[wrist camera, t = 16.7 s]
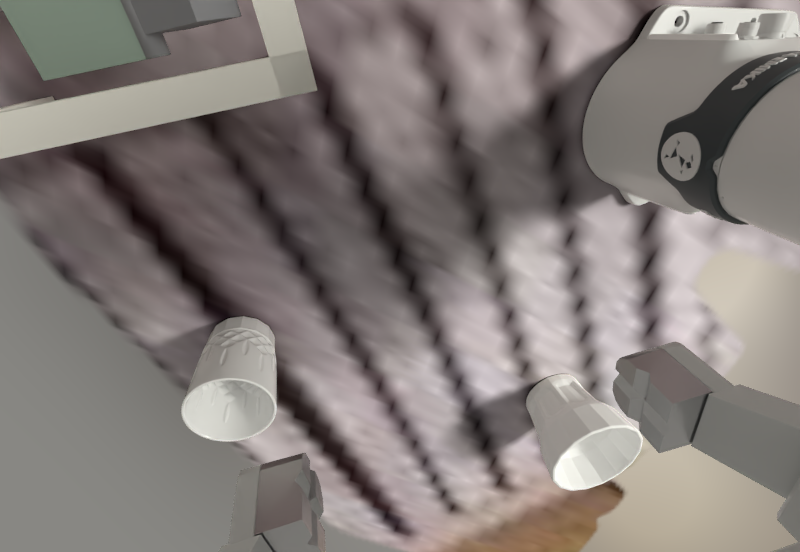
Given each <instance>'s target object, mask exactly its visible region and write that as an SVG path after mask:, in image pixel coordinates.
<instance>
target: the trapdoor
mask: <svg viewBox="0 0 800 552" xmlns="http://www.w3.org/2000/svg"><path fill="white" fill-rule="evenodd" d="M0 6H1V8H2V10H3V12H4V13H5V15H6V17H7V19H8V20H9V22H10V24H11V25H12V27H13V29H14V31H15V32H16V34H17V36H18V37H19V39H20V41H21V43H22V44H23V46H24V48H25V49H26V51H27V53H28V55H29V56H30V58H31V60H32V61H33V63H34V65H35V67H36V68H37V70H38V72H39V73H40V75H41V77H42V79H43V80H44V81H45V80H51V79H56V78H61V77H66V76H70V75H75V74H80V73H84V72H89V71H94V70H99V69H103V68H108V67H113V66H118V65H122V64H127V63H132V62H137V61H141V60H146V59H151V58H156V57H160V56H165V55H170V54H171V53H170V51H169V49H168V46H167V44H166V41H165V39H164V37H163V34H162V33H164V32H172V31H179V30H186V29H191V28H195V27H199V26H203V25H207V24H211V23H215V22H220V21H224V20H228V19H232V18H236V17H240V16H241V13H240V10H239V7H238V4H237V1H236V0H0Z"/></svg>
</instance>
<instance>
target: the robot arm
mask: <svg viewBox="0 0 800 552" xmlns="http://www.w3.org/2000/svg"><path fill="white" fill-rule="evenodd" d="M676 18H677V22H676V24H674V23H675V20H676ZM583 149H584V154H585V158H586V160H587V163H588V165H589V167H590V168H591V170H592V171H593V172H594V174H595V175H596V176H597V177H599V178H600V179H601V180H603V181H604V182H606V183H609V184H611V185H613V186H615V187H616V188H618V189H619V191H620V193H621V194H622V196H623V197H624V199H625V200H626V201H627V202H628V203H630V204H633V205H637V206H638V205H642V204H645V203H647V202H649V201H650V202H653V203H655V204H658V205H661V206H664V207H667V208H670V209H673V210H676V211H679V212H681V213H685V214H695V213H696V212H699V211H702V212H704V213H706V214H707V215H709V216H712V217H714V218H717V219H720V220H725V221H728V222H731V223H734V224H750V225H752V226H755V227H757V228H760V229H762V230H764V231H767V232H769V233H771V234H774V235H776V236H779V237H781V238H783V239H786V240H788V241H791V242H793V243H795V244H798V245H800V28H799V21H798V16H797V14H796V12H794V11H789V10H776V9H755V8H732V7H710V6H687V5H663V6H660V7H659V8H658V9H656V10H655V12H654V13H653V14H652V15H651V17H650V18H649V20H648V21H647V23H646V25H645V26H644V28H643V30H642V32H641V33H640V35H639V37H638V39H637V40H636V41H635V43H634V44H633V45H632V46H631V47H630V48H629V49H628V50H627V51H626V52H625V53H624V54H623V55H622V56H621V57H620V58H619V59H618V60H617V61H616V62H615V63H614V64H613V65H612V66H611V67H610V68H609V70H608V71H607V72H606V74H605V75H604V77H603V78H602V79H601V81H600V83H599V84H598V86H597V88H596V90H595V92H594V94H593V96H592V98H591V100H590V103H589V106H588V108H587V112H586V115H585V120H584V125H583ZM616 370H617V371H618V372H619V373H620V374H619V375H618V376H617V378H616V379H615V380H614V382H613V393H614V396H615V400H616V402H617V403H618V405H619V407H620V408H621V410H622V411H623V412H624V413H625V414H626V416H627V417H629V418H632V419H634V420H636V421H638V422H639V430H640V432H641V433H642V434H643V435H644V437H645V438H646V439H647V440H648V441H649V442H650V443H651V445H652V446H653V447H654V448H655V449H656V450H657V451H658V453H661V452H665V451H668V450H672V449H675V448H679V447H682V446H685V445H689V444H692V445H691V446H692V447H694V448H696V449H698V450H700V451H702V452H703V453H705V454H707V455H709V456H711V457H712V458H714V459H716V460H718V461H719V462H721V463H723V464H725V465H727V466H728V467H730V468H732V469H734V470H736V471H737V472H739V473H741V474H743V475H745V476H746V477H748V478H750V479H752V480H754V481H755V482H757V483H759V484H761V485H763V486H764V487H767V488H768V489H770V490H772V491H773V492H775V493H777V494H779V495H781V496H782V497H784V498H786V500H785V502H784V503H783V505H782V507H781V508H780V510H779V511H778V514H777V515H778V516H777V518H778V519H777V520H778V521H779V522H780V523H781V524H782V525H783V526H784V527H785V528H786V529H787V530H788V532H789V533H791V535H792V536H793V537H794V538H795V539H796V540H797V541H798V542H797V543H794V544H792V545H789V546H786V547H783V548H780V549H778V550H775V551H772V552H800V405H798V404H795V403H792V402H789V401H786V400H783V399H780V398H778V397H774V396H772V395H769V394H766V393H763V392H760V391H757V390H754V389H751V388H749V387H746V386H743V385H736V386H733V385H732V384H731V383H730V382H729V381H727V380H726V379H725V378H724V377H722V376H721V375H720V374H719V373H717V372H716V371H715V370H714V369H712V368H711V367H710V366H709V365H707V364H706V363H705V362H704V361H702V360H701V359H700V358H699V357H697V356H696V355H695V354H694V353H692V352H691V351H690V350H689V349H687V348H686V347H685V346H684V345H682V344H680V343H678V342H672V343H668V344H665V345H662V346H658V347H656V348H654V347H653V348H650V349H647V350H644V351H641V352H637V353H634V354H631V355H628V356H625V357H622V358H620V359H619V360H618V361H617V363H616ZM323 511H324V510H323V498H322V492H321V486H320V483H319V479H318V477H317V474H316V472H315V471H313V470H310V460H309V458H308V456H307V455H306V453H302V454H298V455H295V456H291V457H287V458H284V459H280V460H276V461H272V462H269V463H265V464H261V465H258V466H254V467H251V468H247V469H244V470H241V471H240V474H239V476H238V478H237V484H236V492H235V499H234V506H233V513H232V520H231V527H230V535H229V542H228V544H227V545H225V546H222V547H221V548H220V550H219V551H218V552H326V549H325V530H324V528H323V526H322V525H321V523H320V521H319V519H320V517H321V515H322V513H323Z"/></svg>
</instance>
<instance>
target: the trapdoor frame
mask: <svg viewBox="0 0 800 552" xmlns="http://www.w3.org/2000/svg"><path fill="white" fill-rule="evenodd" d="M252 2H253V6H254V9H255V12H256V16H257V19H258V22H259V26H260V29H261V32H262V35H263V39H264V42H265V45H266V49H267V52H268V55H269V57H264V58H259V59H254V60H249V61H245V62H240V63H235V64H230V65H225V66H220V67H215V68H211V69H206V70H201V71H196V72H191V73H186V74H182V75H177V76H172V77H167V78H162V79H157V80H152V81H148V82H143V83H138V84H133V85H128V86H123V87H118V88H114V89H109V90H104V91H99V92H94V93H89V94H85V95H80V96H75V97H70V98H65V99H60V100H54V98H53V96H51V97H46V98H41V99H36V100H31V101H26V102H22V103H18V104H14V105H10V106H6V107H2V108H0V159H2V158H7V157H11V156H16V155H21V154H25V153H30V152H35V151H39V150H44V149H49V148H53V147H58V146H62V145H67V144H72V143H76V142H81V141H86V140H90V139H95V138H99V137H104V136H109V135H113V134H118V133H123V132H127V131H132V130H137V129H141V128H146V127H150V126H155V125H160V124H164V123H169V122H174V121H178V120H183V119H187V118H192V117H197V116H201V115H206V114H211V113H215V112H220V111H225V110H229V109H234V108H238V107H243V106H248V105H252V104H257V103H262V102H266V101H271V100H275V99H280V98H285V97H289V96H294V95H299V94H303V93H308V92H313V91H317V87H316V83H315V79H314V75H313V71H312V67H311V63H310V60H309V56H308V52H307V48H306V44H305V40H304V36H303V32H302V28H301V25H300V21H299V17H298V13H297V9H296V5H295V1H294V0H252Z"/></svg>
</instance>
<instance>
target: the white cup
mask: <svg viewBox="0 0 800 552" xmlns="http://www.w3.org/2000/svg"><path fill="white" fill-rule="evenodd" d="M276 411H277V372H276V356H275V336H274V334H273V333H272V331H271V329H270V327H269V326H268V325H266V324H264V323H263V322H261V321H260V320H258V319H255V318H250V317H245V316H240V317H234V318H228V319H226V320H224V321H223V322H221V323H219V324H218V325H216V326H215V328H214V329H213V331H212V333H211V334H210V336H209V339H208V341H207V344H206V346H205V347H204V350H203V352H202V354H201V357H200V359H199V362H198V364H197V366H196V369H195V371H194V374H193V377H192V379H191V382H190V385H189V387H188V390H187V393H186V395H185V398H184V401H183V403H182V407H181V414H182V418H183V420H184V422H185V424H186V425H187V427H188V428H189V429H190V430H192V431H193V432H194V433H196V434H198V435H200V436H202V437H204V438H207V439H211V440H215V441H225V442H229V441H239V440H244V439H248V438H251V437H253V436H255V435H257V434H259V433H261V432H262V431H264V430H265V429H266V428H268V427H269V425H270V424H271V423H272V422H273V420H274V418H275V416H276Z"/></svg>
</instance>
